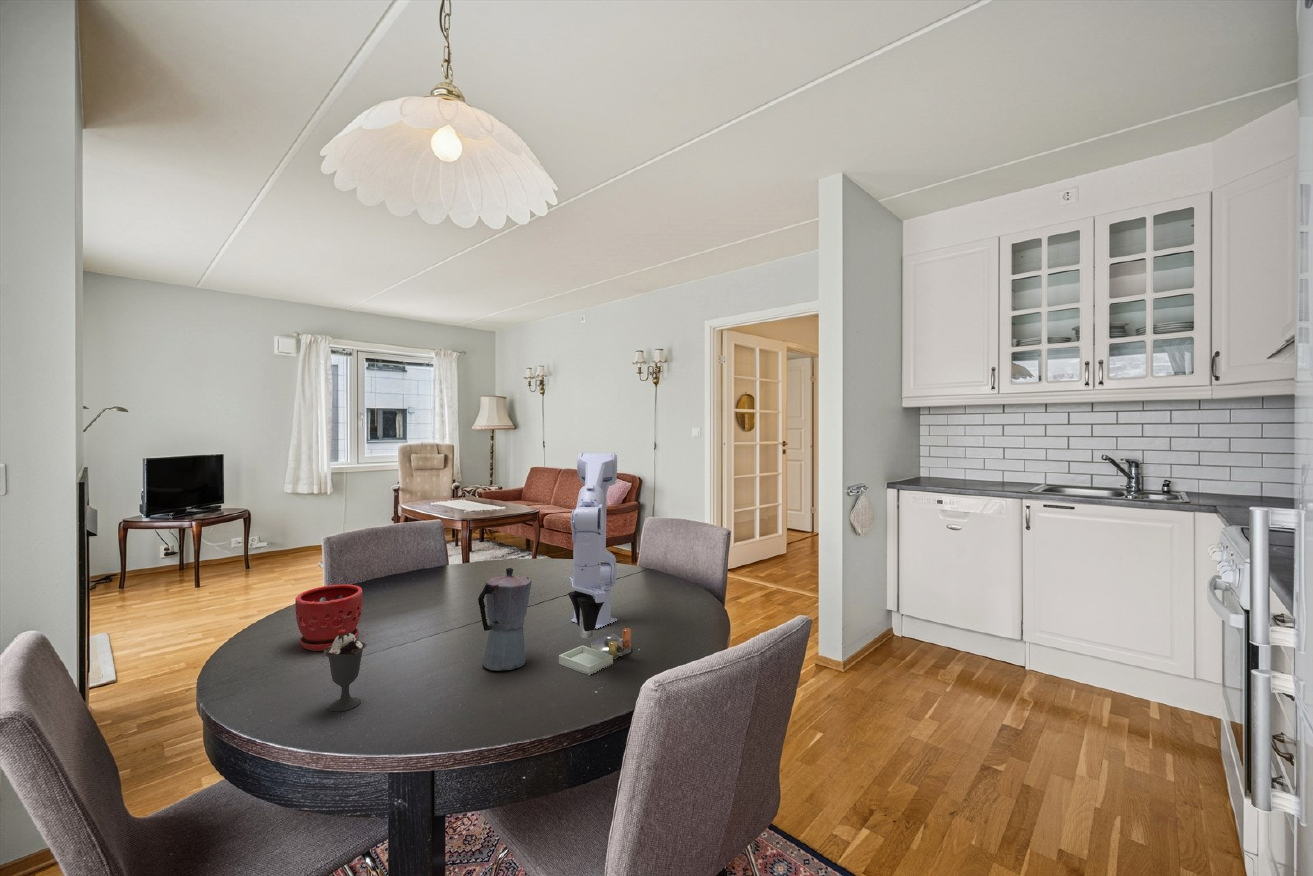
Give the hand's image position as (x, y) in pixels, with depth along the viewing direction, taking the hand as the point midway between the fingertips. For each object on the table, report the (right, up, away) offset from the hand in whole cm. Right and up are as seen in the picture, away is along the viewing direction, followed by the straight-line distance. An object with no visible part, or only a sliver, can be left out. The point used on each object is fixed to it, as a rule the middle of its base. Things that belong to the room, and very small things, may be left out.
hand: (586, 627), depth 114 cm
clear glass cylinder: (0, -2, 0) cm, 2 cm away
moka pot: (-17, -8, -1) cm, 19 cm away
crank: (+6, -6, +5) cm, 10 cm away
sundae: (-40, -7, -18) cm, 45 cm away
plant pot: (-60, -7, +9) cm, 61 cm away
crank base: (+5, -8, +8) cm, 12 cm away
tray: (0, -8, 0) cm, 8 cm away
